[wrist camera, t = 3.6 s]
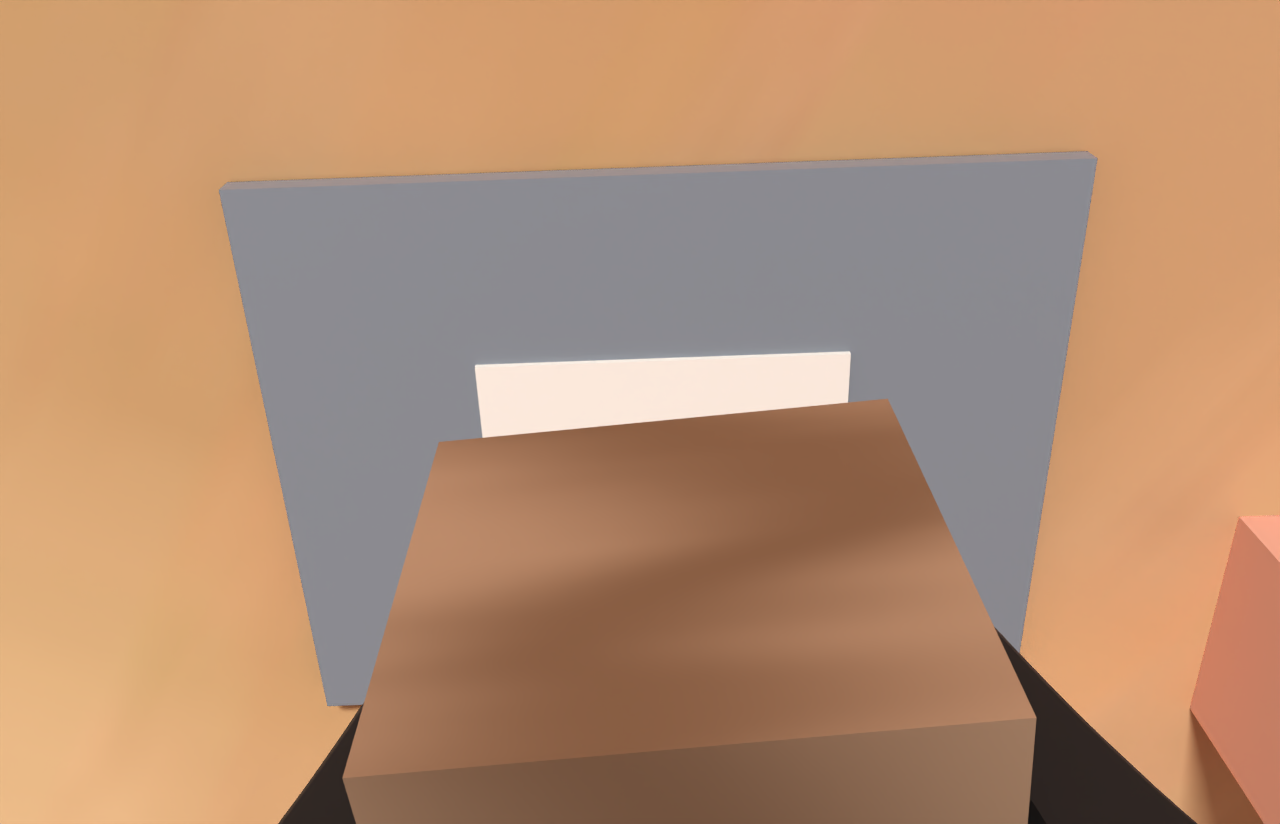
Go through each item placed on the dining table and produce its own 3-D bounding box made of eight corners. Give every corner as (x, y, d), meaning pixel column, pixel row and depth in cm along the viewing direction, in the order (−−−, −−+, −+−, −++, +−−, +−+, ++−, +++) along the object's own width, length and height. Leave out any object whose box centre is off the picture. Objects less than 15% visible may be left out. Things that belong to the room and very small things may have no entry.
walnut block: (888, 398, 11) (1035, 716, 7) (887, 737, 13) (1001, 1130, 9) (438, 441, 11) (342, 777, 7) (507, 770, 13) (460, 1172, 9)
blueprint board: (1087, 151, 17) (1100, 160, 17) (1008, 667, 22) (1016, 685, 21) (227, 182, 17) (216, 191, 17) (331, 691, 22) (326, 709, 21)
